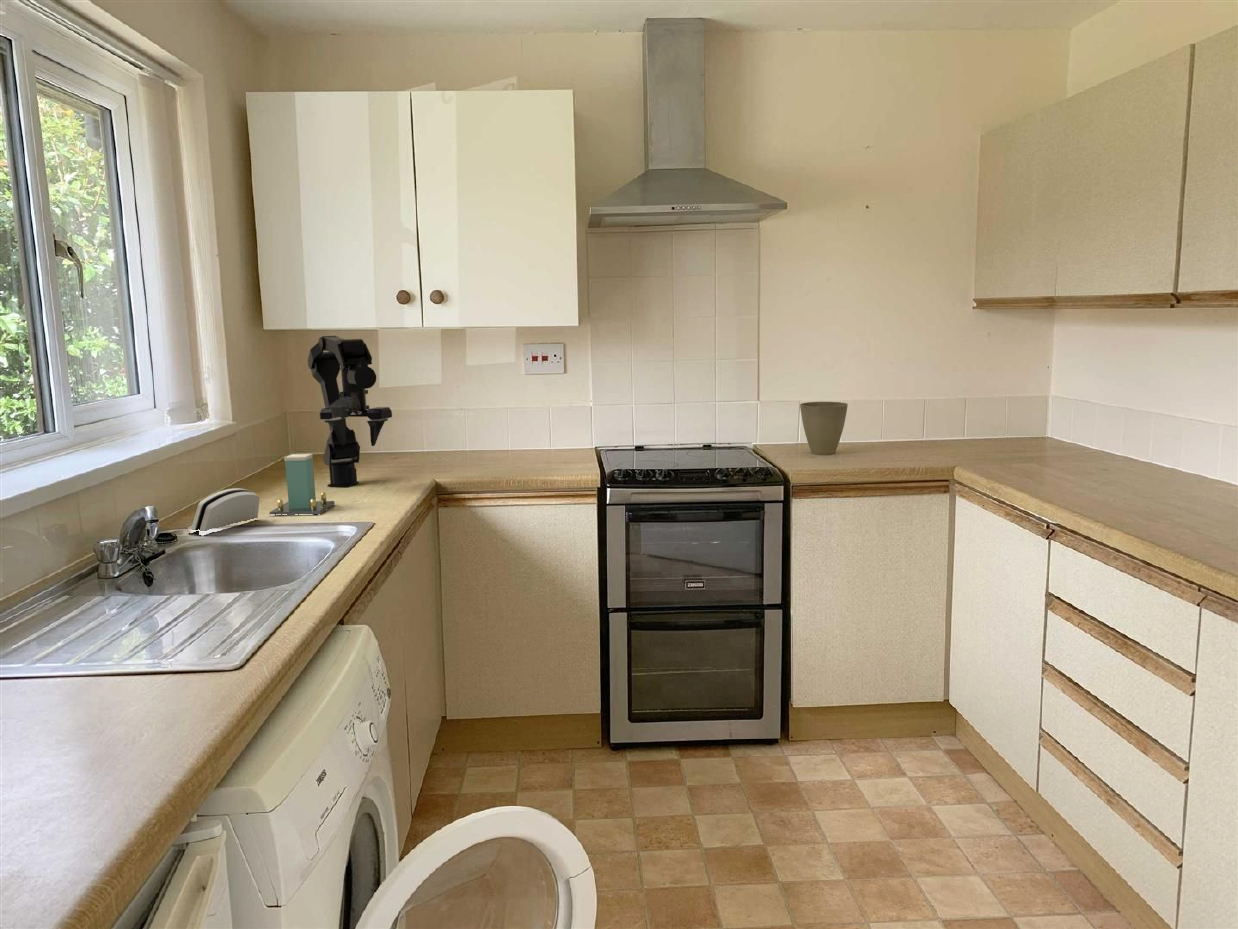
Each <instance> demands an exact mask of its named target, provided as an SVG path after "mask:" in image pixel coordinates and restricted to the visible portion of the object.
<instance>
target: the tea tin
mask: <svg viewBox="0 0 1238 929" xmlns="http://www.w3.org/2000/svg"><path fill="white" fill-rule="evenodd" d="M313 455H314V454H313V453H295V454H294V453H291V454H289V455H287V456H284V457H283V459H284V464H285V476H286V478H285V479H286V486H287V487H286V489H287V500H288V501H287V502H289V509H302V508H311V503H310V499H315V500H316V501H317V498H316V497H317V496H316V485H315V473H314V462H313V461H314V460H313V457H314V456H313Z"/></svg>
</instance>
